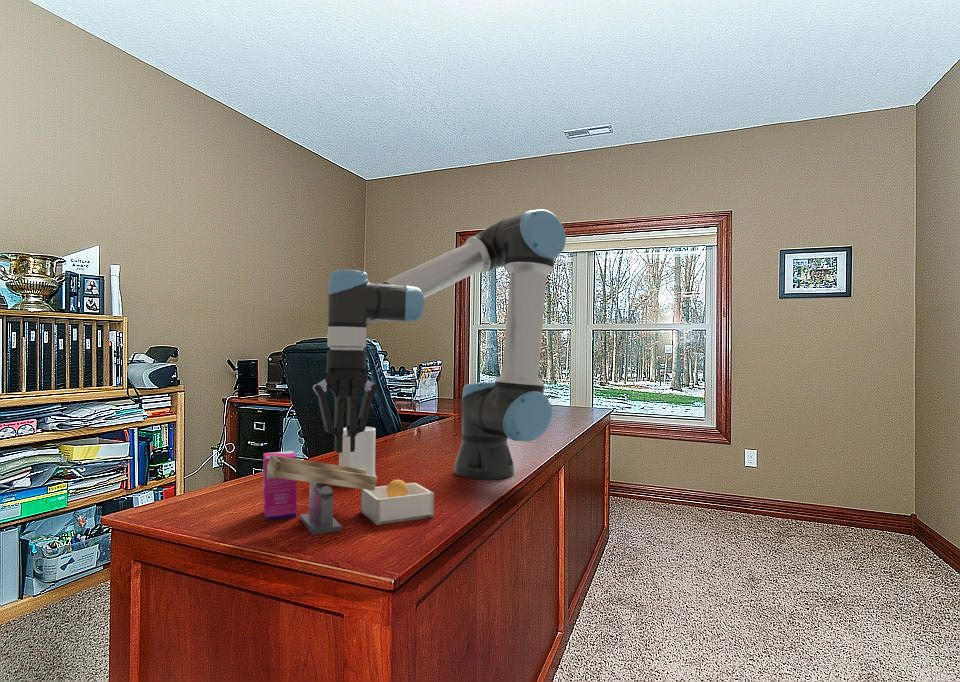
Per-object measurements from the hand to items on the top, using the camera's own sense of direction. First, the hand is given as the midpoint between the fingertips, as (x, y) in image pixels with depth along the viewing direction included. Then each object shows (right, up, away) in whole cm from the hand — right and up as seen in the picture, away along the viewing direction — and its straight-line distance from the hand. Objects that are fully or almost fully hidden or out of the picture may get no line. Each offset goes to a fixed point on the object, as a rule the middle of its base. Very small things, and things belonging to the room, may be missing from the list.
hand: (344, 468), depth 113 cm
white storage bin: (+11, -8, -3) cm, 14 cm away
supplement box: (-11, -8, -4) cm, 14 cm away
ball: (+11, -3, -3) cm, 12 cm away
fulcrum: (-2, -8, -10) cm, 13 cm away
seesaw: (-3, 0, -7) cm, 8 cm away
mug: (-2, -8, +27) cm, 29 cm away
